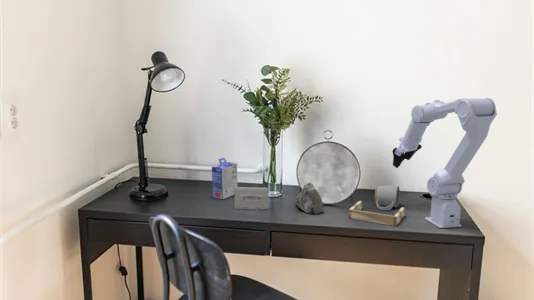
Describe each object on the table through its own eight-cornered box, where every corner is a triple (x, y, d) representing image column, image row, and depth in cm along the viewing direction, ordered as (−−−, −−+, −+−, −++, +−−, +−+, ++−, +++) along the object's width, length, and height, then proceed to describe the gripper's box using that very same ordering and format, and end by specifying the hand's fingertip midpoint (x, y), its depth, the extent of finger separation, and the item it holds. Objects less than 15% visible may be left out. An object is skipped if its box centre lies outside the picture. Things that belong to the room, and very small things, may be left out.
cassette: (268, 208, 178) (268, 187, 177) (268, 209, 176) (268, 188, 175) (234, 207, 178) (234, 186, 177) (234, 209, 176) (234, 188, 175)
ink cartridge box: (227, 191, 199) (226, 155, 196) (238, 193, 196) (238, 157, 193) (211, 197, 190) (211, 160, 188) (222, 199, 187) (222, 162, 185)
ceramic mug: (377, 201, 188) (378, 181, 186) (399, 204, 185) (400, 184, 183) (371, 209, 178) (372, 189, 177) (395, 212, 175) (396, 191, 174)
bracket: (359, 208, 178) (359, 200, 178) (404, 215, 171) (404, 207, 171) (348, 218, 168) (348, 209, 167) (396, 226, 161) (396, 217, 160)
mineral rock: (296, 202, 185) (296, 176, 183) (325, 204, 183) (326, 178, 181) (291, 213, 172) (292, 185, 170) (323, 215, 171) (324, 187, 169)
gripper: (415, 121, 183) (402, 149, 192) (393, 135, 175) (381, 163, 183) (431, 132, 180) (417, 159, 189) (410, 146, 171) (396, 174, 180)
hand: (400, 162), depth 186 cm, fingers open, 7 cm apart
